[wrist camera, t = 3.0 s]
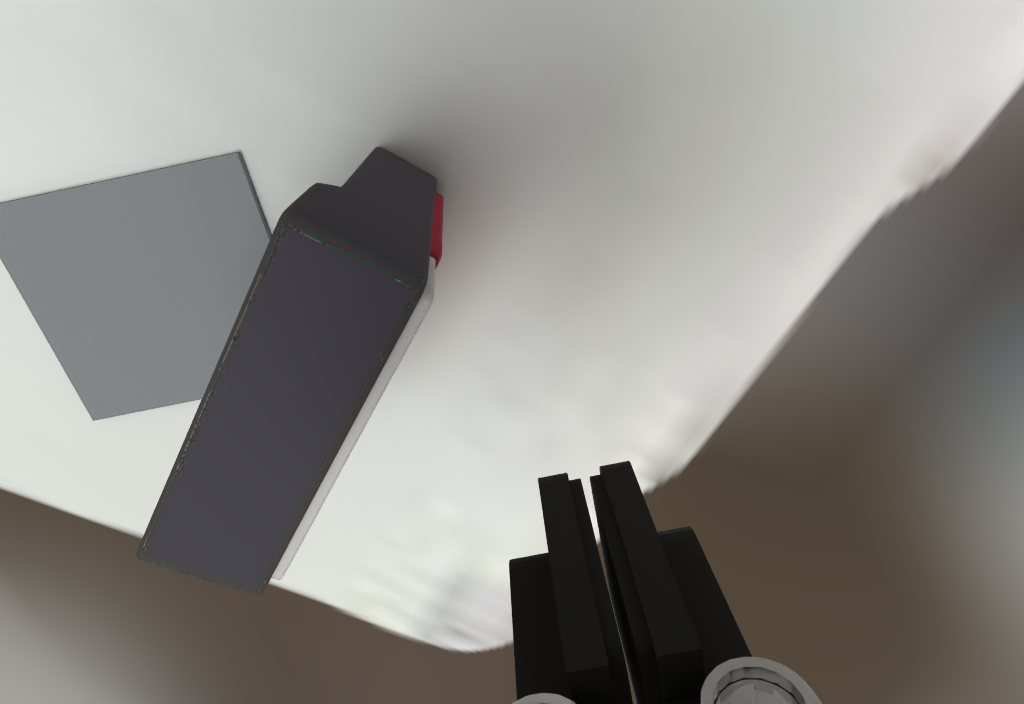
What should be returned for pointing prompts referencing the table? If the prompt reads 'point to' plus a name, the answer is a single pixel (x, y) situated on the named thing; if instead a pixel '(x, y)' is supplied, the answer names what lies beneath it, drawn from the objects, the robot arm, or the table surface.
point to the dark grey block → (300, 374)
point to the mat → (138, 277)
